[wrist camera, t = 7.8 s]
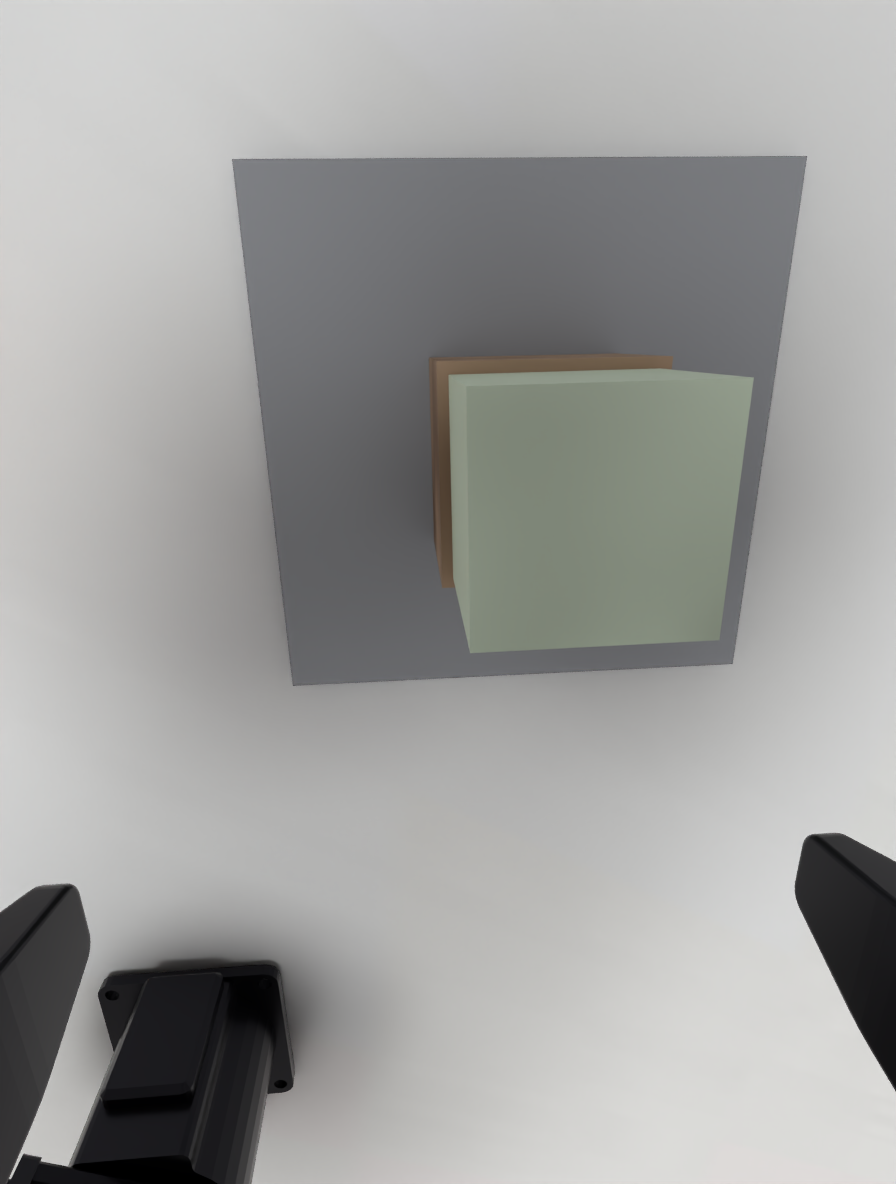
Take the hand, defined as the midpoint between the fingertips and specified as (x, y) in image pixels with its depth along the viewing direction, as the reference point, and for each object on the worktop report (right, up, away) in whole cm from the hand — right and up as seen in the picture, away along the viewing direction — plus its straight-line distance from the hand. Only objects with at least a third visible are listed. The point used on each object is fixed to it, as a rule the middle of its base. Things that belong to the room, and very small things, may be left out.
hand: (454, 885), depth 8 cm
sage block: (+2, +6, +7) cm, 9 cm away
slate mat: (+2, +8, +11) cm, 13 cm away
